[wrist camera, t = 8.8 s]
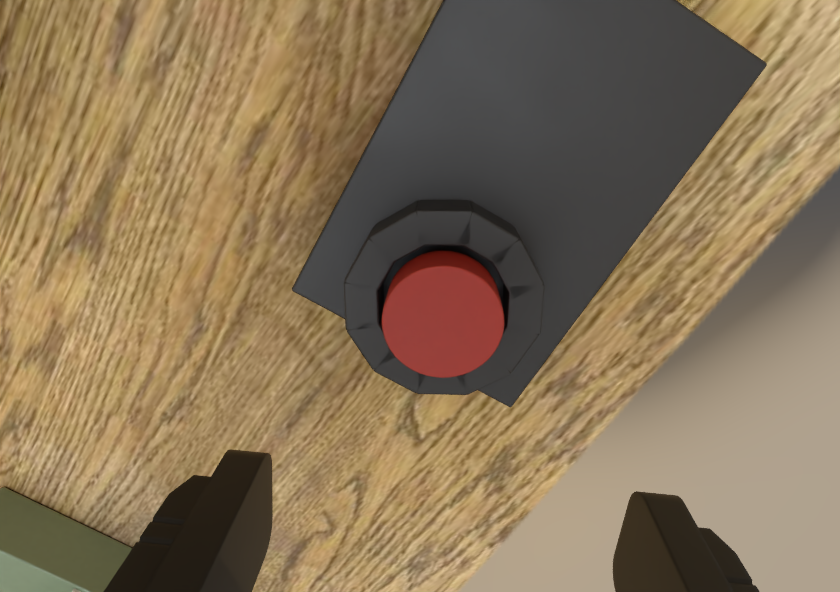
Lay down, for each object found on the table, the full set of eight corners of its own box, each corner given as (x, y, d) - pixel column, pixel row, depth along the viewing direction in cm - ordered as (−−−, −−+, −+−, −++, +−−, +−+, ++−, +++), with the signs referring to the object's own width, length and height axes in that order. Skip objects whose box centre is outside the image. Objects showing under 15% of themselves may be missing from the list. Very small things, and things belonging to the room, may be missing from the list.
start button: (461, 373, 21) (462, 397, 19) (366, 322, 20) (360, 343, 19) (521, 285, 20) (528, 304, 18) (422, 228, 19) (420, 242, 17)
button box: (500, 389, 25) (509, 443, 21) (299, 281, 24) (271, 318, 20) (736, 65, 20) (802, 62, 16) (499, -97, 19) (512, -142, 15)
